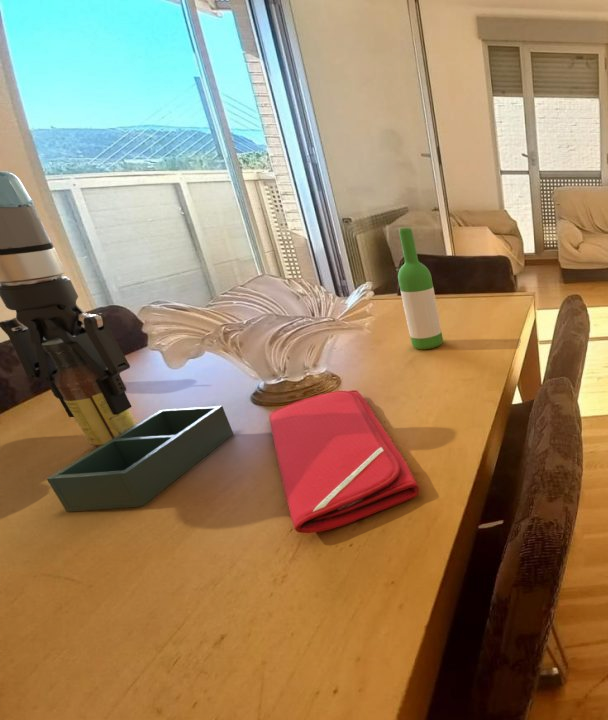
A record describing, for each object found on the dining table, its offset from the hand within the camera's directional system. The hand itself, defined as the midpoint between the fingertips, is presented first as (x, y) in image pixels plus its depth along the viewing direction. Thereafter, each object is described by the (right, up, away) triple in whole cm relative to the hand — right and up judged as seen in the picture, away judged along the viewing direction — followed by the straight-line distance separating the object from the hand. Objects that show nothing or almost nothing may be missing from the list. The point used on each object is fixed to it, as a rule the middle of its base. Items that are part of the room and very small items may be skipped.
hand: (101, 411), depth 81 cm
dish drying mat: (+42, -7, -2) cm, 43 cm away
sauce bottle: (0, -6, +3) cm, 7 cm away
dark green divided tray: (+15, -9, -5) cm, 18 cm away
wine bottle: (+38, +13, +44) cm, 60 cm away
